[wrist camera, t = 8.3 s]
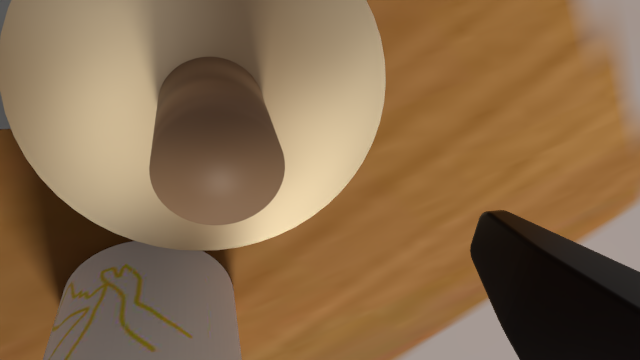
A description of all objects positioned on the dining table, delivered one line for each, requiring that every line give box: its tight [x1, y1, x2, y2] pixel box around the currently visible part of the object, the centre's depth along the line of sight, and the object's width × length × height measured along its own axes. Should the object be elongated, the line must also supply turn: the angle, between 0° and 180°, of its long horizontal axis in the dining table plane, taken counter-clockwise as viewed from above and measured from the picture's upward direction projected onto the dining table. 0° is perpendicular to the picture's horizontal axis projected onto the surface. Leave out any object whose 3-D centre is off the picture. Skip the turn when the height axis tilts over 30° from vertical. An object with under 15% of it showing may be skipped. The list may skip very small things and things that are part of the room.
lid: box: [0, 0, 386, 251], centre depth 12 cm, size 10×10×4 cm
